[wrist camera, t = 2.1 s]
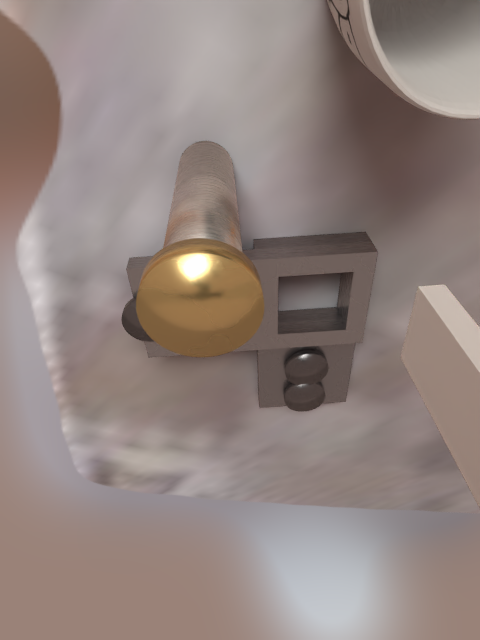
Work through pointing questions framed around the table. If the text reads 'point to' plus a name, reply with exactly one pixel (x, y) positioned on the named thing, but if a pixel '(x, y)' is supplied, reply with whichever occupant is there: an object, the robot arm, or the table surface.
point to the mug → (418, 49)
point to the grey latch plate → (306, 362)
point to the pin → (201, 264)
